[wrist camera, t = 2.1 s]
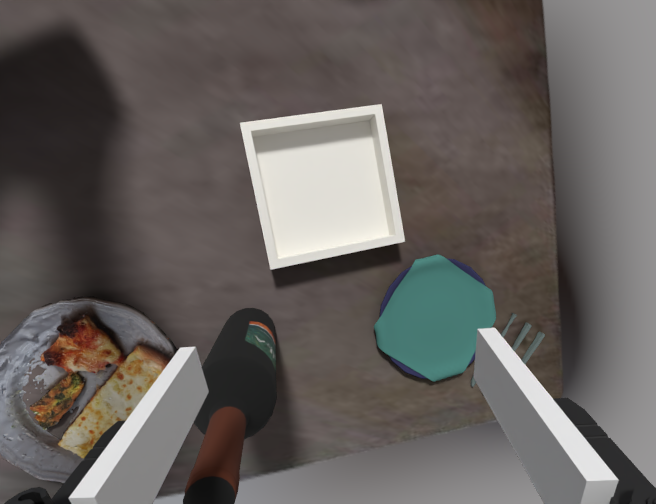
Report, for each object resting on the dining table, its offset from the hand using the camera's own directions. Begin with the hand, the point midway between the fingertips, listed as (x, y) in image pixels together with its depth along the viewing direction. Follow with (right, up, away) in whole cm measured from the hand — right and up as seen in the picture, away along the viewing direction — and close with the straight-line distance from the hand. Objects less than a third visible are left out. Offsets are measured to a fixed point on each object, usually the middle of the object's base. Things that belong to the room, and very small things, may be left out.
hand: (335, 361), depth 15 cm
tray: (-1, +15, +33) cm, 36 cm away
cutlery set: (+21, -8, +39) cm, 45 cm away
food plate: (-33, -13, +29) cm, 46 cm away
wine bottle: (-12, -7, +32) cm, 35 cm away
